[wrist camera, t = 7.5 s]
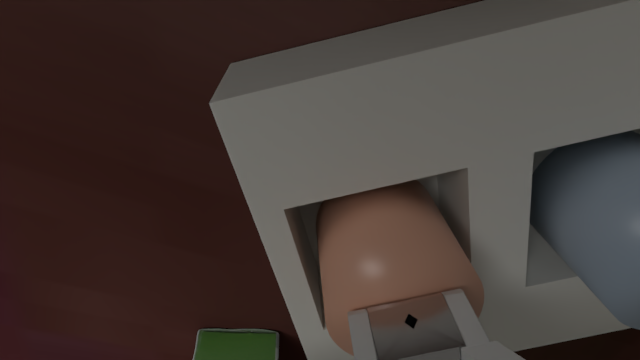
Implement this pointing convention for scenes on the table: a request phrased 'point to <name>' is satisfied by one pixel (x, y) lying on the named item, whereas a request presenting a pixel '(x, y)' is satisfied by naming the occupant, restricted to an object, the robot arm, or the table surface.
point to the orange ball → (387, 254)
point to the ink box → (236, 344)
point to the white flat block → (437, 144)
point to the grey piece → (595, 216)
